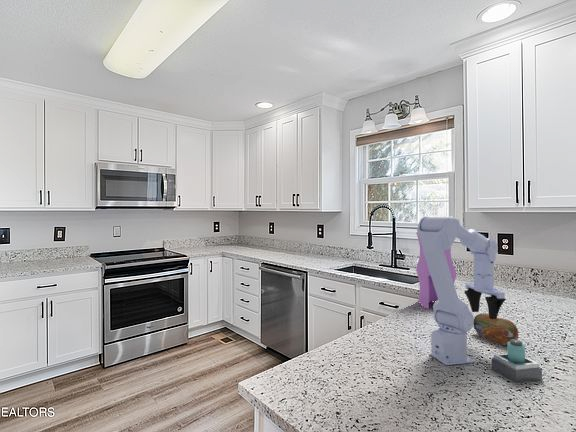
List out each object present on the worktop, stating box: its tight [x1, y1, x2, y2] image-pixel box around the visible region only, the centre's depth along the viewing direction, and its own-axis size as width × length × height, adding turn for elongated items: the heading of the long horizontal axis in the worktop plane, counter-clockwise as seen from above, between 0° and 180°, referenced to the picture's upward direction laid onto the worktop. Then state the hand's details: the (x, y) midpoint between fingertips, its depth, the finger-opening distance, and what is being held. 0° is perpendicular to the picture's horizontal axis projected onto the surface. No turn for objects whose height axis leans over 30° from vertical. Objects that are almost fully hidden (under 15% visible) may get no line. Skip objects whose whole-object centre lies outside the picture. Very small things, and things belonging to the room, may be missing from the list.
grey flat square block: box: [491, 352, 543, 384], centre depth 89 cm, size 8×8×4 cm
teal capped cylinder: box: [506, 339, 526, 364], centre depth 89 cm, size 4×4×6 cm
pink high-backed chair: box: [415, 231, 457, 309], centre depth 157 cm, size 14×14×35 cm
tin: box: [473, 313, 519, 346], centre depth 113 cm, size 15×3×8 cm, turn 21°
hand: (483, 315), depth 108 cm, fingers open, 7 cm apart
